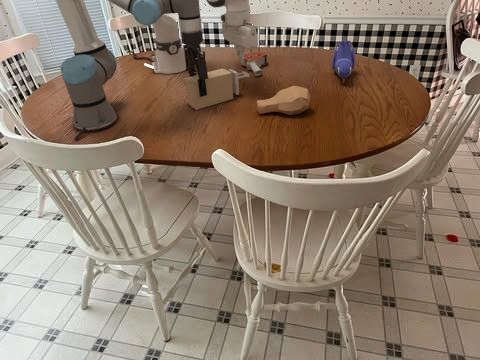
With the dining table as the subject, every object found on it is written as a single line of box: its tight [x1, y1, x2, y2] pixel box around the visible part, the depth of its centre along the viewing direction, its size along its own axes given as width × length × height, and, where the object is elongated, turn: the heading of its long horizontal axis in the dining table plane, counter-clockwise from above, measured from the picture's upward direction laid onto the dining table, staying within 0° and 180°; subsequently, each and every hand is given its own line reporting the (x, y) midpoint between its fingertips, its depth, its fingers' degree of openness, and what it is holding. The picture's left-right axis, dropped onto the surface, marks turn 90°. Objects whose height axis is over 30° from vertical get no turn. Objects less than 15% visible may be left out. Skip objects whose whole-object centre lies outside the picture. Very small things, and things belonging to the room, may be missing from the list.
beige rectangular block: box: [184, 68, 234, 111], centre depth 140 cm, size 17×7×11 cm, turn 121°
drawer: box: [228, 68, 251, 96], centre depth 143 cm, size 22×5×9 cm, turn 121°
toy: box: [331, 39, 356, 84], centre depth 153 cm, size 10×17×25 cm
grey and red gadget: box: [239, 51, 268, 77], centre depth 171 cm, size 18×5×20 cm
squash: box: [255, 85, 312, 116], centre depth 130 cm, size 11×20×9 cm, turn 92°
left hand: (199, 92), depth 139 cm, fingers closed on beige rectangular block, 7 cm apart
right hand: (240, 55), depth 140 cm, fingers closed
